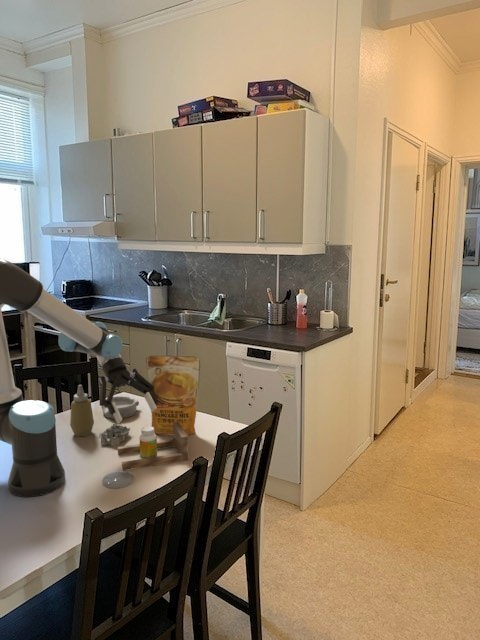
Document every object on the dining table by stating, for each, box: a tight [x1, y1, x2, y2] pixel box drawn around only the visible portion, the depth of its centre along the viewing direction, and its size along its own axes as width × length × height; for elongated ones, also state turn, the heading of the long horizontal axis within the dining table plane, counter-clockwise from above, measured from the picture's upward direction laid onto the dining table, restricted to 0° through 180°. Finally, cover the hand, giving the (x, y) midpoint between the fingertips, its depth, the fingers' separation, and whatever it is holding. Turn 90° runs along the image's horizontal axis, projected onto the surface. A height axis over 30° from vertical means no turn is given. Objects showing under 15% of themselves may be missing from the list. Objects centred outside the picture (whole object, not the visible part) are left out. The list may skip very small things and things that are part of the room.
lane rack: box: [117, 422, 189, 471], centre depth 158 cm, size 20×12×8 cm, turn 110°
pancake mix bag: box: [145, 355, 201, 436], centre depth 176 cm, size 7×19×28 cm, turn 85°
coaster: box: [101, 470, 135, 490], centre depth 143 cm, size 9×9×1 cm
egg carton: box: [98, 423, 131, 447], centre depth 171 cm, size 11×8×4 cm
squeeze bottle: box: [69, 384, 95, 437], centre depth 174 cm, size 8×8×18 cm
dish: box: [101, 395, 140, 420], centre depth 195 cm, size 14×14×5 cm
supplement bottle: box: [139, 425, 158, 459], centre depth 157 cm, size 5×5×10 cm
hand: (137, 415), depth 163 cm, fingers open, 13 cm apart
